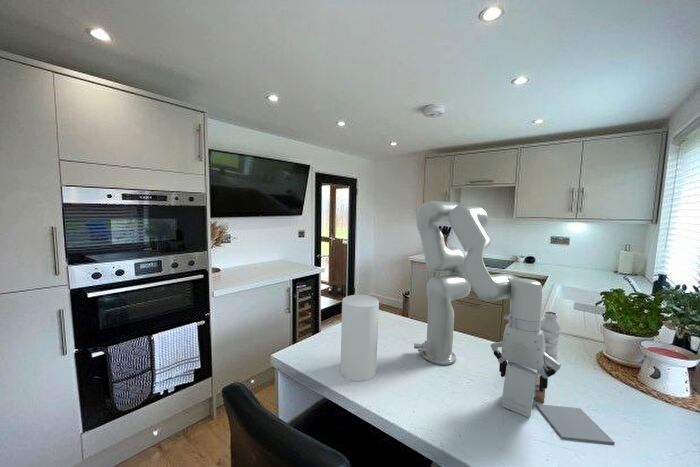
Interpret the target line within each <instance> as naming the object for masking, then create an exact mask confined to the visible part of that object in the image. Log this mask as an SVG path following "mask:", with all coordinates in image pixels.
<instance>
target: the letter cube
mask: <svg viewBox="0 0 700 467" xmlns="http://www.w3.org/2000/svg"><path fill="white" fill-rule="evenodd" d="M539 384H540V376H537V379H536V386H535V392H534V399H533V401H537V402H538V403H539V402H540V403H545V397H546V389H545V388H544V390H543V392H541V391H540V390H539Z"/></svg>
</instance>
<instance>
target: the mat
mask: <svg viewBox="0 0 700 467" xmlns="http://www.w3.org/2000/svg"><path fill="white" fill-rule="evenodd" d="M535 407H536V408H537V409H538V410H539V411H540V413H541V414H542V415H543V417H544V418H545V419H546V421H547V422H548V423H549V424H550V426H552V428H553V429H554V430H555V432H556V433H557V435H559V437H560V438H561V439H562V440H571V441H572V440H573V441H579V442H580V441H581V442H590V443H591V442H592V443H598V444H609V445H615V441H614V440H613V439H612V438H611V437H610V436H609V435H608V434H607V433H606V432H605V431H604V430H603V429H602V428H601V427H600V426H599V425H597V424H596V423H597V422H595V421H593V419H592V418H591V417H590V416H588V414H587V413H586V412H585V411H584V410H582V408H580V407H573V406H572V407H571V406H559V405H552V404H551V405H550V404H539V403H536V404H535Z"/></svg>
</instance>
